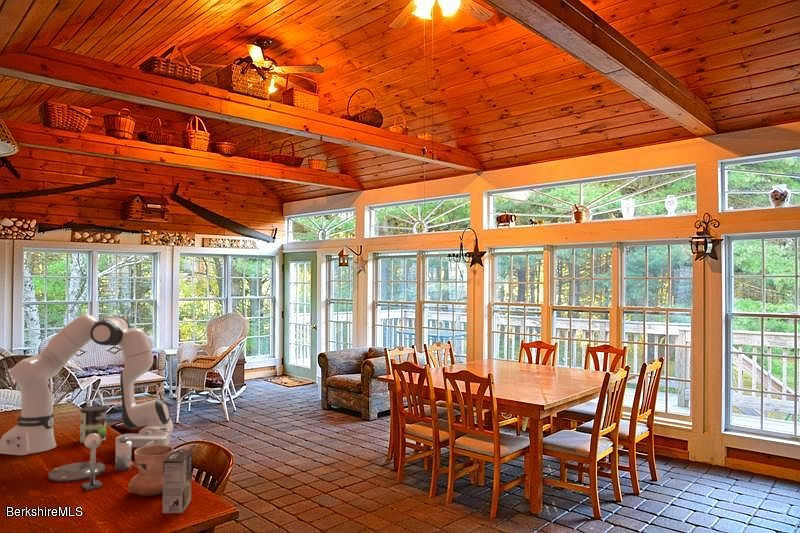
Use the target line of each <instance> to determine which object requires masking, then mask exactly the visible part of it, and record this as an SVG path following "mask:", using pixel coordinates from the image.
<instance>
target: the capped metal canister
mask: <svg viewBox="0 0 800 533" xmlns="http://www.w3.org/2000/svg"><path fill="white" fill-rule="evenodd" d="M132 450H133V447H132V440H128V437H120V439H119V441H117V442H116V445H115V459H114V461H115V462H114V465H115V466H114V471H116V472H117V471H119V472H121V471H122V472H123V471H129V470H130V469H132V466H130V467H127V465H126V464H127V463H128V462H131V461H132V453H133V451H132Z"/></svg>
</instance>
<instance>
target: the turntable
mask: <svg viewBox="0 0 800 533" xmlns="http://www.w3.org/2000/svg"><path fill="white" fill-rule="evenodd" d="M105 470H106V465H105V464H104V463H102V462H97V461H96V465H95V477H97V476H99V475H101V474H103V473H104V472H105ZM48 479H49V480H50V481H52V482H57V483H59V482H60V483H67V482H68V483H69V482H70V483H71V482H78V481H85V480H88V479H89V480H90V461H81V462H74V463H69V464H64V465H61V466H57V467H56V468H53V469H51V470H50V471H49V472H48Z"/></svg>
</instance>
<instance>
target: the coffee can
mask: <svg viewBox="0 0 800 533" xmlns="http://www.w3.org/2000/svg"><path fill="white" fill-rule="evenodd" d="M107 409H108V407H107V406H106V405H90V406H84V407H82V408H80V426H79V427H80V429H79V432H80V434H79V442H80V443H82V444H84V440H85V438H86V437H87V436H88V435H89V434H92V433H96V434H98V435H99V436H100V437H101V439H102V441H105V440H106V439H107Z"/></svg>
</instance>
